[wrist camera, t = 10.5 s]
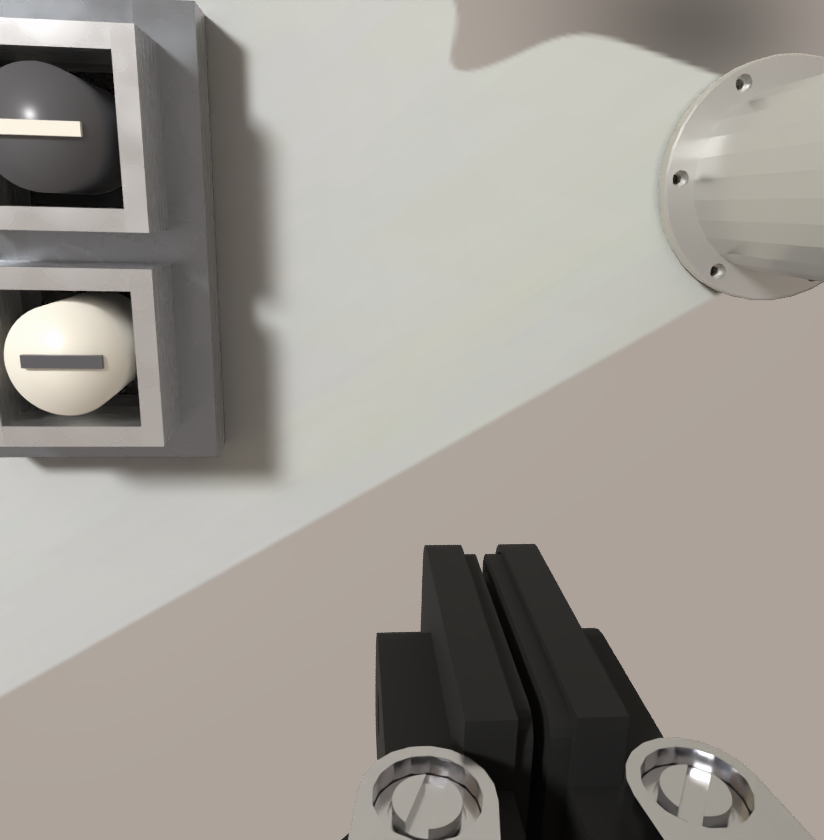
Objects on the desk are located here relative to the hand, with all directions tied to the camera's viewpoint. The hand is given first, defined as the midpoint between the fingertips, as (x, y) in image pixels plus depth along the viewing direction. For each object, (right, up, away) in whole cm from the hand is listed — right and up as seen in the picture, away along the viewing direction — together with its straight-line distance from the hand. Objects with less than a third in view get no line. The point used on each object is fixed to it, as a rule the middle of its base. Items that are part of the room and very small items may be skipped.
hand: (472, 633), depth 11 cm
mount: (-17, +12, +27) cm, 35 cm away
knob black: (-17, +17, +26) cm, 35 cm away
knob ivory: (-17, +8, +28) cm, 34 cm away
